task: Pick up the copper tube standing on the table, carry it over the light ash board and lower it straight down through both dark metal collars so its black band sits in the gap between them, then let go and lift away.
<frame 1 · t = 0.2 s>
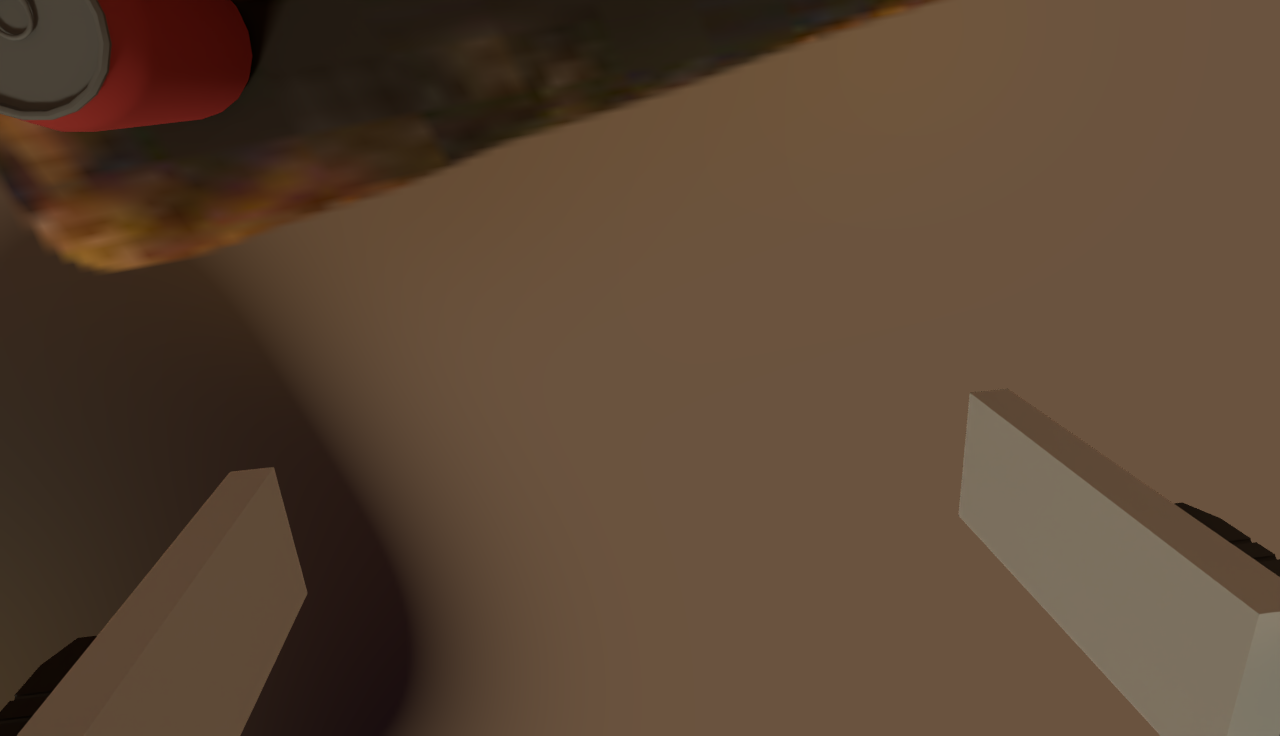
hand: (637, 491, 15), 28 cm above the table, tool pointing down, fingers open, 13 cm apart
beer can: (183, 44, 36), on the table
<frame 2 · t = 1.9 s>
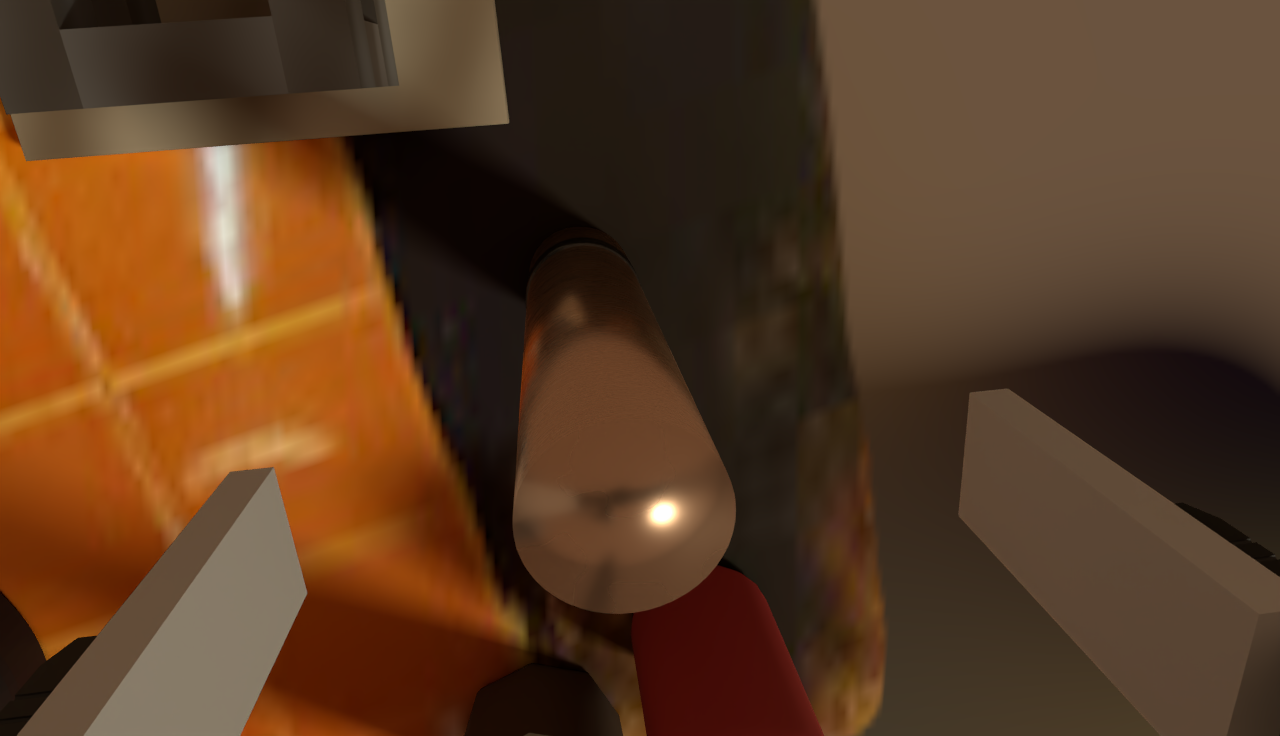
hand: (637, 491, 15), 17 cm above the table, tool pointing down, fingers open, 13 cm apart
beer can: (697, 613, 37), on the table
beer bottle: (541, 718, 38), on the table
copper tube: (580, 277, 31), on the table
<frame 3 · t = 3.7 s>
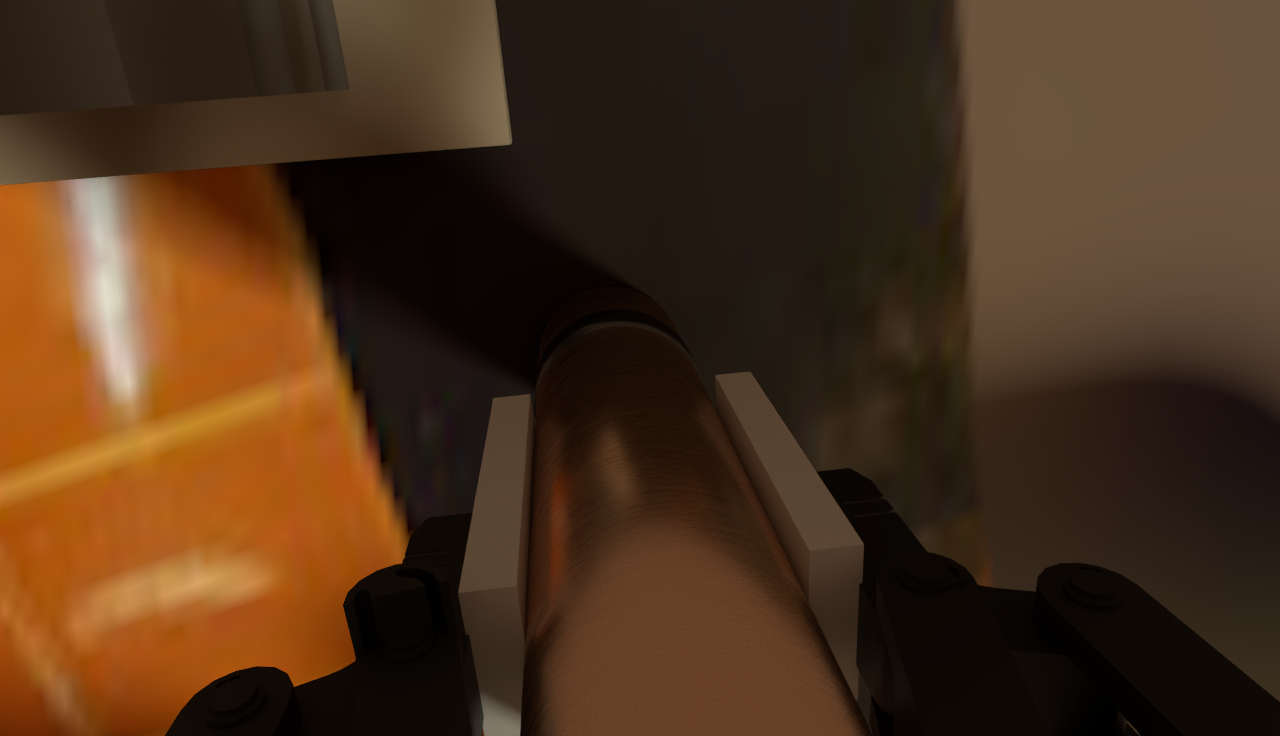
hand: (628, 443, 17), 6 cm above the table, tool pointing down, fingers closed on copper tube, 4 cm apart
copper tube: (610, 355, 22), on the table, touching gripper
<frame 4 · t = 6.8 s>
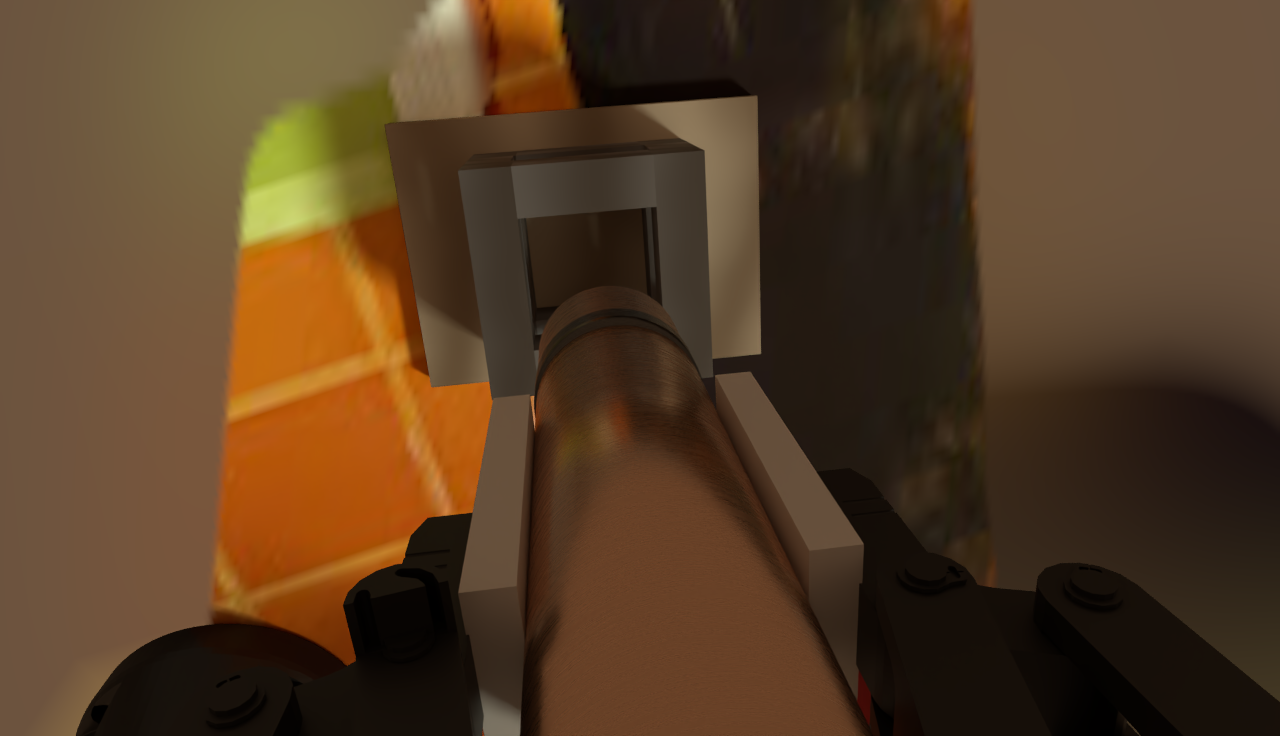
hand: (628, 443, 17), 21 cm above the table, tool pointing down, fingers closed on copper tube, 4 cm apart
beer can: (855, 686, 48), on the table
collar stand: (586, 243, 36), on the table
copper tube: (610, 354, 22), point 16 cm above the table, touching gripper
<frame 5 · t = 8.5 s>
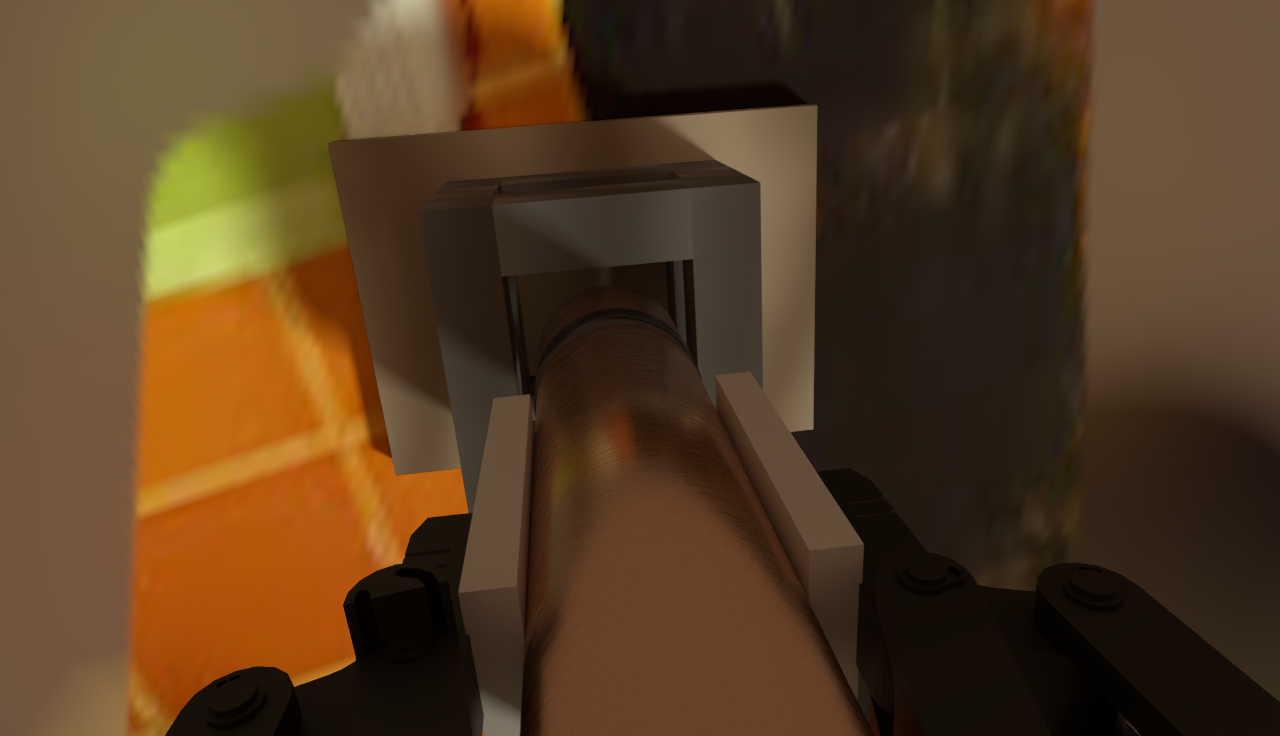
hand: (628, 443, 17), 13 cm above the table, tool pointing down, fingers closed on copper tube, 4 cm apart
collar stand: (593, 293, 29), on the table
copper tube: (610, 354, 22), point 7 cm above the table, touching gripper
when the fingers open (10 cm above the table, at t = 10.0 s): copper tube drops 3 cm, resting on collar stand.
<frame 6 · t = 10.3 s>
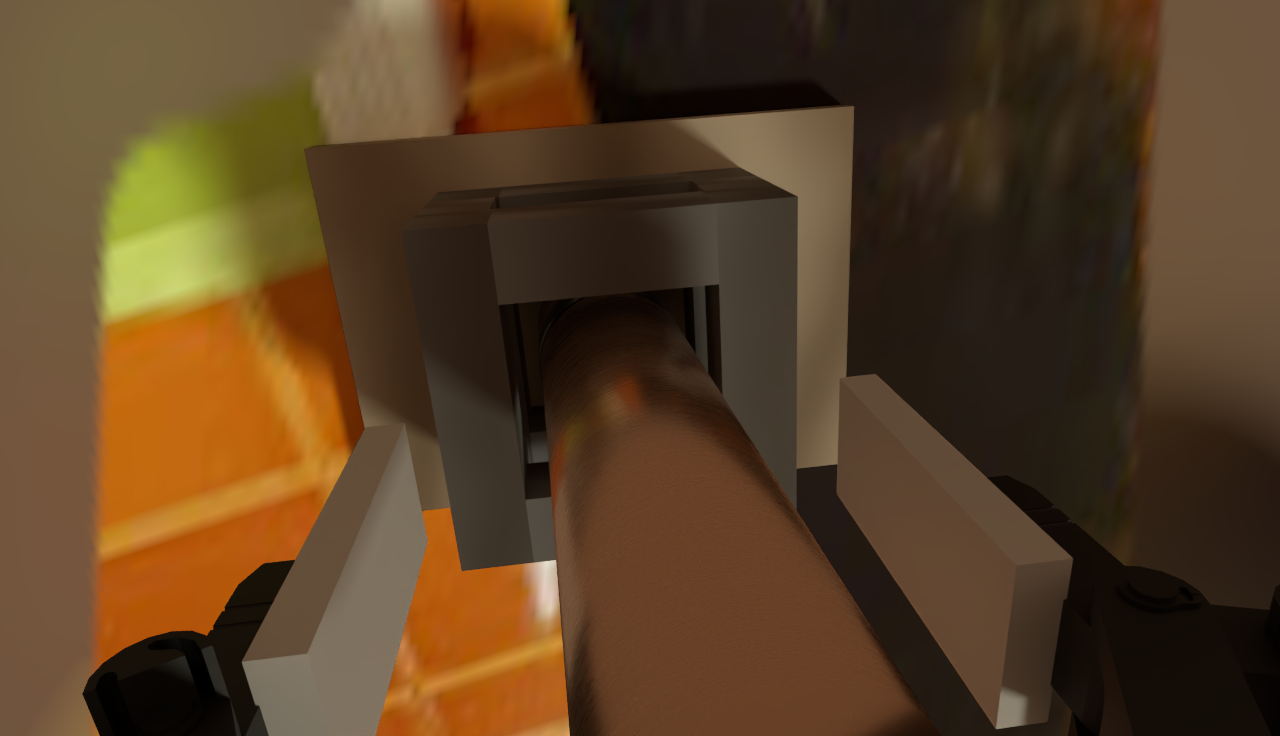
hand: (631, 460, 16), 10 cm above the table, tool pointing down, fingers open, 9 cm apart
collar stand: (601, 314, 26), on the table
copper tube: (601, 324, 25), point 1 cm above the table, touching collar stand
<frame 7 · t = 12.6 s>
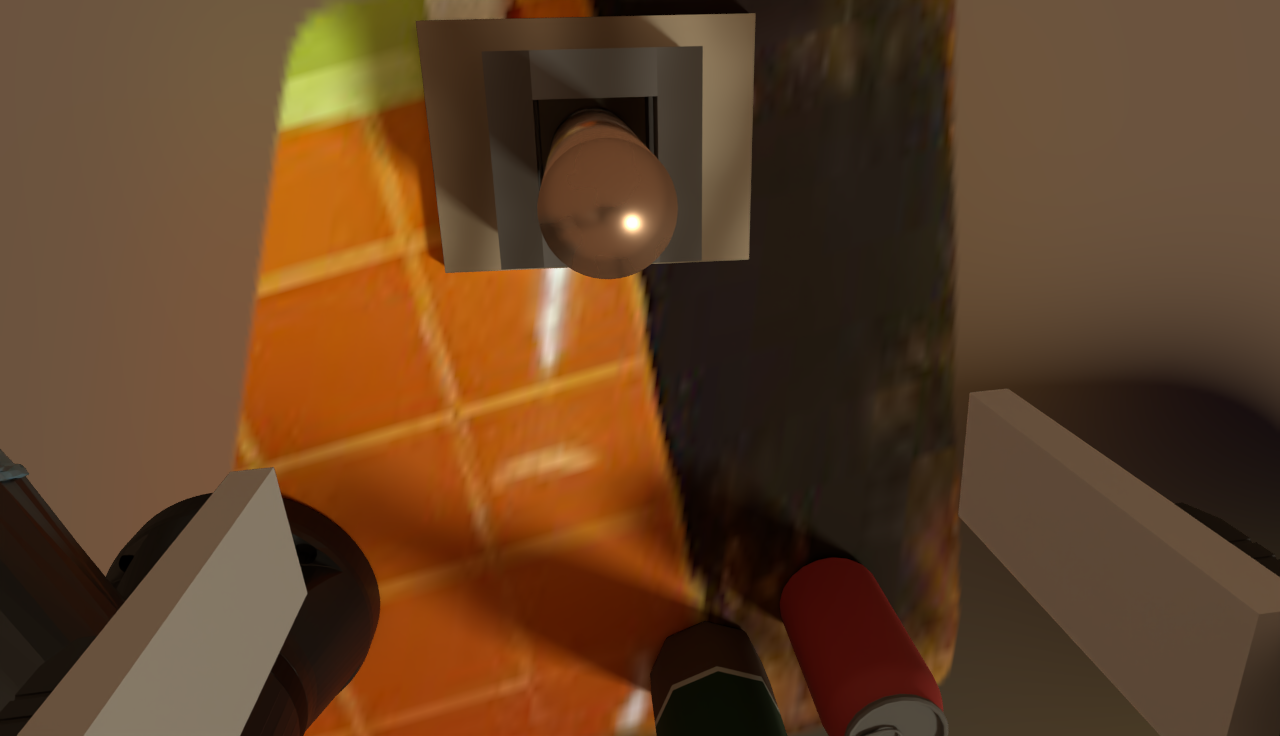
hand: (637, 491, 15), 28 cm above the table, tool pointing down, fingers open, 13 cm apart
beer can: (825, 592, 52), on the table
beer bottle: (704, 662, 53), on the table
collar stand: (593, 146, 40), on the table
copper tube: (592, 148, 39), point 1 cm above the table, touching collar stand
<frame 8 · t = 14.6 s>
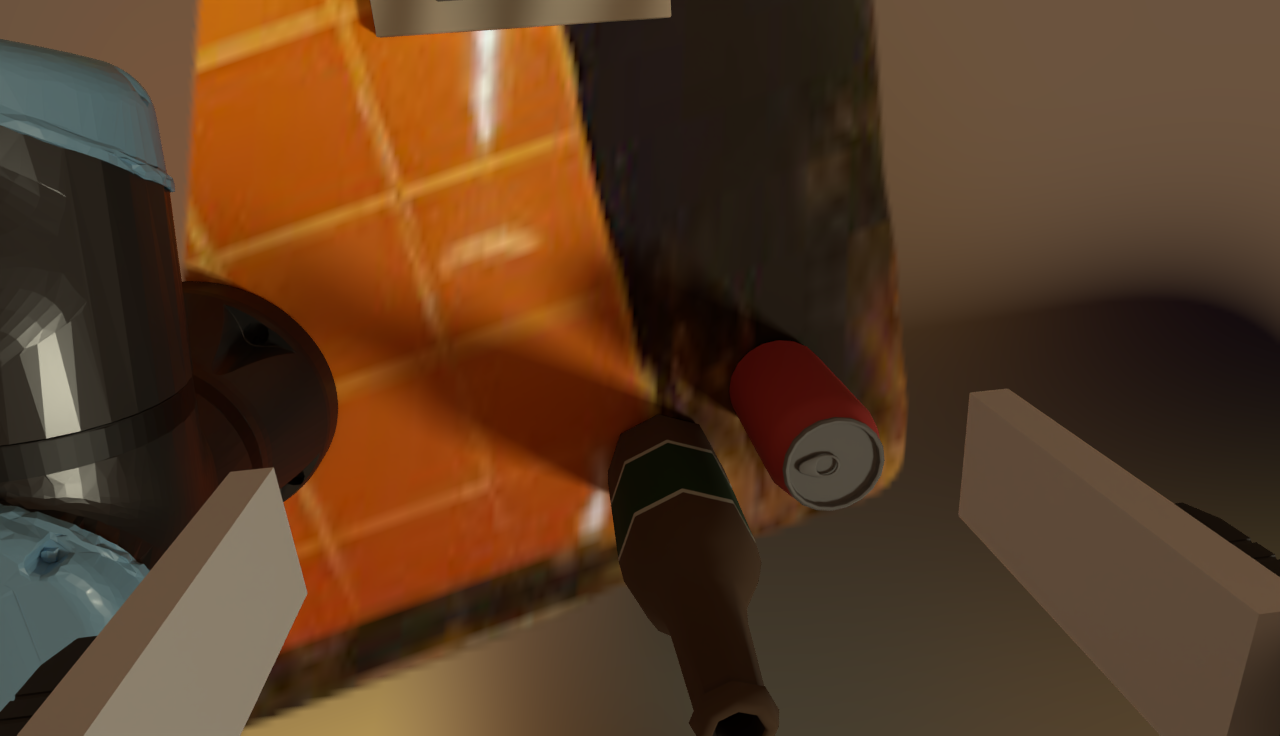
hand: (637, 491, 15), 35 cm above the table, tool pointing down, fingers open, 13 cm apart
beer can: (774, 382, 53), on the table
beer bottle: (661, 460, 54), on the table
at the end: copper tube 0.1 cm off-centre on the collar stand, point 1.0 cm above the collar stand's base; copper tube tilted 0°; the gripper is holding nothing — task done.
